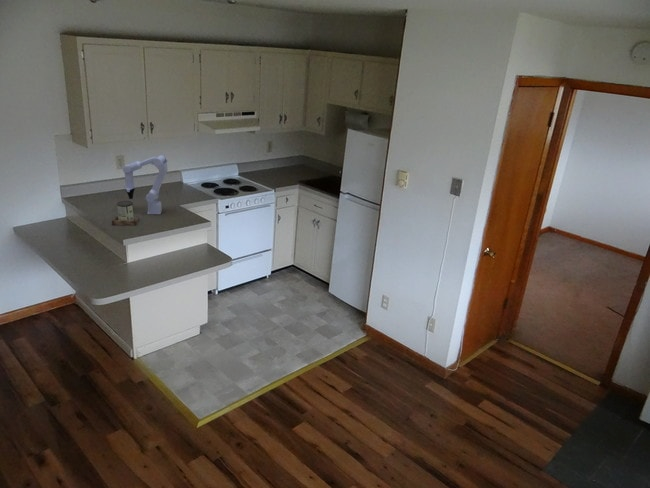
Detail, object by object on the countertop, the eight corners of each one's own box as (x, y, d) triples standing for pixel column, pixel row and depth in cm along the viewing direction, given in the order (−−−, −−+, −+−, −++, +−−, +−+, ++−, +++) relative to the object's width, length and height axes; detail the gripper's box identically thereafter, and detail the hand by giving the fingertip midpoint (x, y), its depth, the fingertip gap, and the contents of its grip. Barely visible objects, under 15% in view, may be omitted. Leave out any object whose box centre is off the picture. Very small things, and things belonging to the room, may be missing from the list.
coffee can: (121, 219, 354) (119, 200, 348) (136, 219, 354) (134, 201, 349) (116, 224, 344) (114, 204, 339) (131, 224, 345) (129, 205, 339)
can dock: (139, 220, 354) (138, 216, 352) (136, 225, 344) (136, 221, 343) (115, 220, 351) (115, 216, 350) (112, 225, 342) (111, 221, 341)
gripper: (125, 178, 368) (127, 195, 374) (121, 183, 355) (123, 201, 360) (135, 178, 370) (137, 195, 375) (131, 183, 356) (133, 201, 362)
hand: (131, 198), depth 368 cm, fingers closed
